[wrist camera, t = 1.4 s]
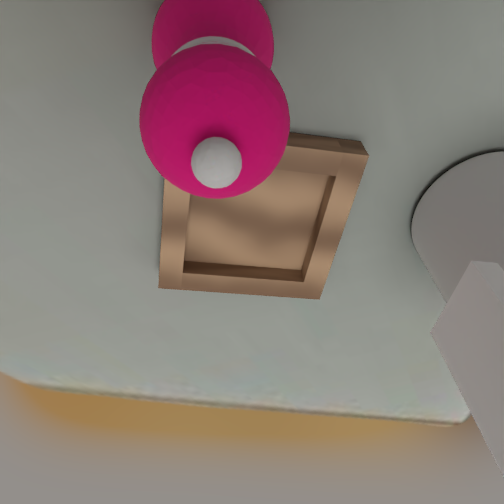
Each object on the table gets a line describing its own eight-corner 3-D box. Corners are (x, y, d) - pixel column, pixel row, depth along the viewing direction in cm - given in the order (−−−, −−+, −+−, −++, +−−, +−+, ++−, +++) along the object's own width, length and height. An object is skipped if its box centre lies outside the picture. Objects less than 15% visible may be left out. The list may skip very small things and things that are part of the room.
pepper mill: (186, -60, 28) (159, 13, 13) (286, 6, 31) (368, 133, 15) (141, 51, 32) (75, 214, 16) (234, 101, 34) (255, 283, 19)
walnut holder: (169, 117, 35) (167, 131, 33) (360, 141, 37) (369, 155, 35) (160, 270, 44) (158, 288, 42) (314, 281, 46) (319, 299, 44)
